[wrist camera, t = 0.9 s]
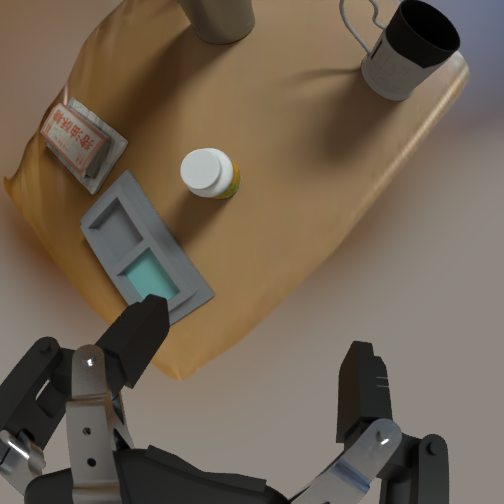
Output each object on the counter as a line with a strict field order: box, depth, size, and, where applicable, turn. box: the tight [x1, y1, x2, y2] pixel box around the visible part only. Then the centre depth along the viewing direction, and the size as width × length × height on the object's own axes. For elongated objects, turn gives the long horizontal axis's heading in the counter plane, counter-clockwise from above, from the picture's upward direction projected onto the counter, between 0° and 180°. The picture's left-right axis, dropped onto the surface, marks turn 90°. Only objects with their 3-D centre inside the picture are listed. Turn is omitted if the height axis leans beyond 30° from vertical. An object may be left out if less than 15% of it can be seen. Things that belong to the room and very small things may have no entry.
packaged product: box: [40, 98, 128, 195], centre depth 34 cm, size 18×5×10 cm
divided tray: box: [80, 169, 215, 325], centre depth 36 cm, size 22×12×3 cm, turn 36°
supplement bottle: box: [181, 148, 241, 199], centre depth 30 cm, size 5×5×10 cm
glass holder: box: [339, 0, 460, 101], centre depth 22 cm, size 9×14×15 cm, turn 62°
